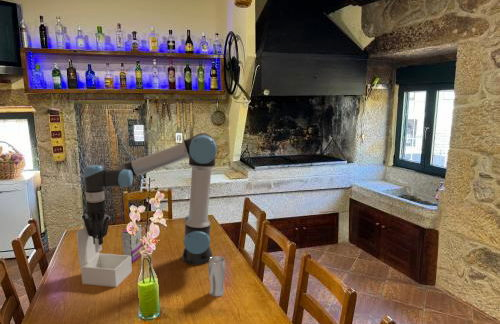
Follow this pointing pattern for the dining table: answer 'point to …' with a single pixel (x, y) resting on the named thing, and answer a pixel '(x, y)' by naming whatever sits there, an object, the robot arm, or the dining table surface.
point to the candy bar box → (132, 244)
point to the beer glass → (216, 275)
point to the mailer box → (106, 270)
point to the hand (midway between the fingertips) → (98, 250)
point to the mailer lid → (85, 246)
